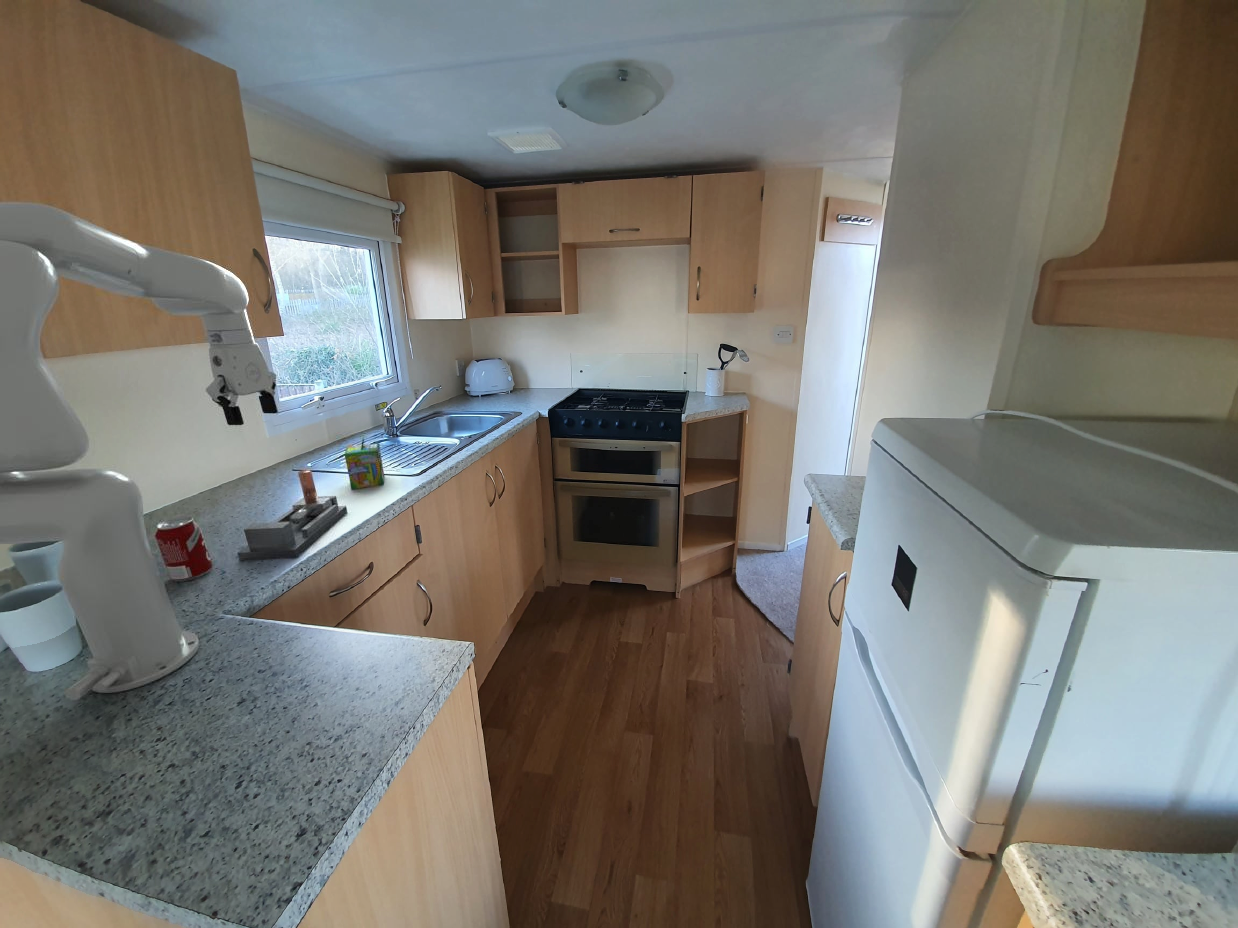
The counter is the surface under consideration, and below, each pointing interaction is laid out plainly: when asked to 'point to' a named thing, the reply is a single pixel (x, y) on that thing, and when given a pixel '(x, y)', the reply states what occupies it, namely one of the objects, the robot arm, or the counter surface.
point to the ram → (308, 499)
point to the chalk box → (364, 465)
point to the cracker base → (298, 540)
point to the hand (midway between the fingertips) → (254, 418)
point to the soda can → (183, 549)
